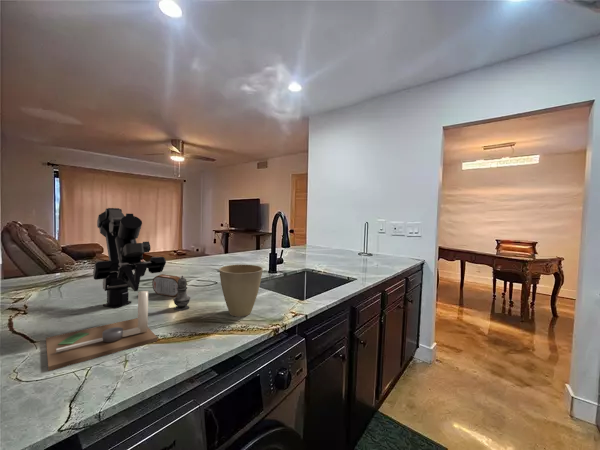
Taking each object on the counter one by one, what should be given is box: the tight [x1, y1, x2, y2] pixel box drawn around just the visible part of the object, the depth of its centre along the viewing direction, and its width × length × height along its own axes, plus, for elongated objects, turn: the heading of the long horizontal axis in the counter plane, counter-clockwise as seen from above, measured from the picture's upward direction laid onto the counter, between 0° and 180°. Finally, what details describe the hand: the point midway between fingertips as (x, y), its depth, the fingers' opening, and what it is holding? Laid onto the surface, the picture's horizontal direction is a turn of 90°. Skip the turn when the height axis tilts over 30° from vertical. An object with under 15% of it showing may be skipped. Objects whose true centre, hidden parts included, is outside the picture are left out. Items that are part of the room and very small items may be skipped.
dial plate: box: [45, 317, 158, 372], centre depth 72 cm, size 22×18×1 cm
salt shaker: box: [172, 275, 191, 312], centre depth 98 cm, size 6×6×12 cm
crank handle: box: [56, 290, 149, 352], centre depth 70 cm, size 19×4×11 cm, turn 135°
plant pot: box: [218, 263, 264, 318], centre depth 95 cm, size 15×15×16 cm
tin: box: [151, 273, 181, 298], centre depth 113 cm, size 15×3×8 cm, turn 71°
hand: (136, 290), depth 80 cm, fingers closed
